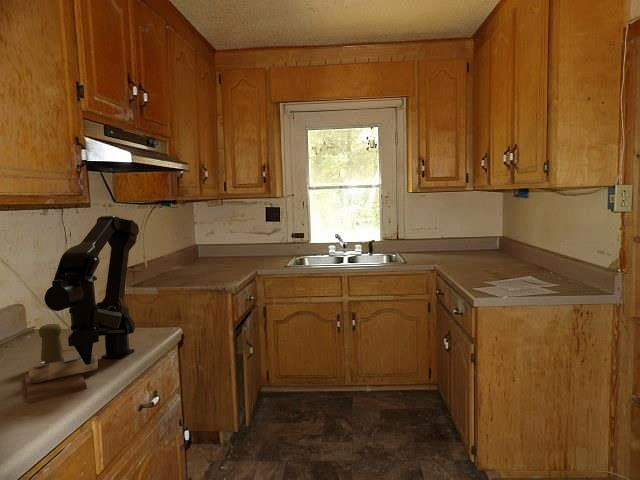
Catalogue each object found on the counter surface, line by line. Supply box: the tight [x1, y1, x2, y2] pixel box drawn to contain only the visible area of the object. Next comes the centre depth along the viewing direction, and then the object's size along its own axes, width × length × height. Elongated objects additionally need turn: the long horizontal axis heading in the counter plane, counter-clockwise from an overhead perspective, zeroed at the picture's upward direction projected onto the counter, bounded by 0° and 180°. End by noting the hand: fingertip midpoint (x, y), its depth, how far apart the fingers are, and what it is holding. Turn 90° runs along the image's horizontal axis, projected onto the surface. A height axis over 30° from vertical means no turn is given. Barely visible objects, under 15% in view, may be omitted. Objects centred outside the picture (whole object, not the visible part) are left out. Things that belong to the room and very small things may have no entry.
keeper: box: [32, 347, 79, 368], centre depth 116 cm, size 9×8×6 cm
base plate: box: [24, 373, 88, 403], centre depth 113 cm, size 18×12×1 cm, turn 34°
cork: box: [38, 323, 64, 364], centre depth 126 cm, size 6×6×11 cm
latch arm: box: [28, 354, 99, 383], centre depth 115 cm, size 15×4×3 cm, turn 123°
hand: (88, 364), depth 116 cm, fingers closed
